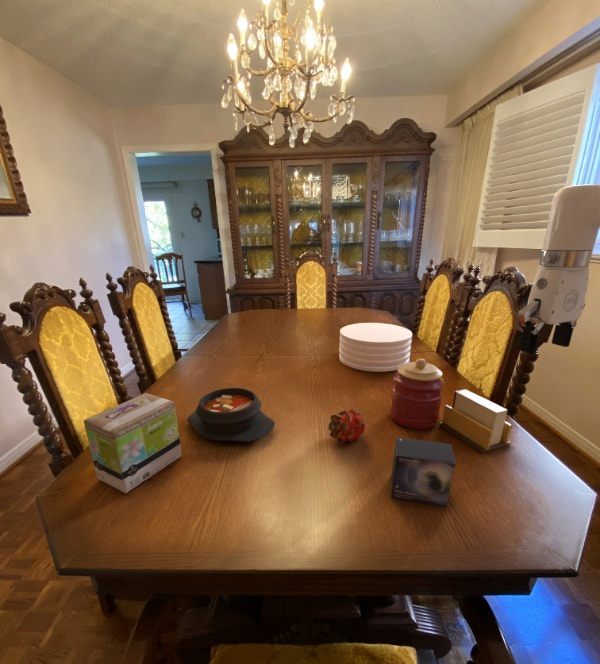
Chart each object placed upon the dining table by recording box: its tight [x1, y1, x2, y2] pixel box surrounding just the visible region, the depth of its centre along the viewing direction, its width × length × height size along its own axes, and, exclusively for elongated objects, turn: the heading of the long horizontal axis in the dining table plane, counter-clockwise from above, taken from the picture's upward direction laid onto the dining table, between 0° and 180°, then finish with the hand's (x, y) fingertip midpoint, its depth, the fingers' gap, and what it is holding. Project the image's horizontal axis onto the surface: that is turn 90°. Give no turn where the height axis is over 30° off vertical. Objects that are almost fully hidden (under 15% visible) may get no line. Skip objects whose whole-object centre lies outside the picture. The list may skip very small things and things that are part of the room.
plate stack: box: [338, 322, 413, 373], centre depth 139 cm, size 28×28×12 cm
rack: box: [438, 404, 513, 455], centre depth 87 cm, size 9×14×6 cm, turn 23°
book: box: [451, 388, 508, 446], centre depth 86 cm, size 4×12×9 cm, turn 23°
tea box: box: [83, 392, 183, 494], centre depth 75 cm, size 15×10×15 cm, turn 151°
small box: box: [390, 437, 457, 508], centre depth 67 cm, size 11×6×10 cm, turn 76°
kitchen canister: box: [390, 358, 446, 430], centre depth 93 cm, size 13×13×18 cm
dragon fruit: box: [327, 409, 366, 444], centre depth 87 cm, size 8×8×12 cm
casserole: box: [186, 387, 276, 443], centre depth 92 cm, size 25×19×8 cm
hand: (543, 348), depth 70 cm, fingers open, 9 cm apart
